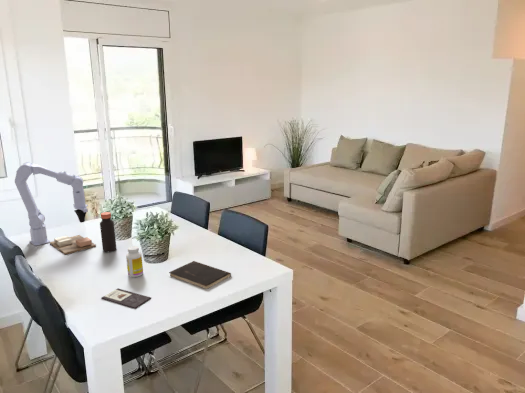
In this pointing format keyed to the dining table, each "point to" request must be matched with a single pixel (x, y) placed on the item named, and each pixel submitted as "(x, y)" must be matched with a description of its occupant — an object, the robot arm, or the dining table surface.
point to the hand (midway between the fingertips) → (82, 222)
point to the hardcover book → (200, 274)
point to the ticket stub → (83, 242)
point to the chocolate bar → (126, 298)
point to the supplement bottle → (134, 262)
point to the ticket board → (69, 244)
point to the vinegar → (107, 232)
